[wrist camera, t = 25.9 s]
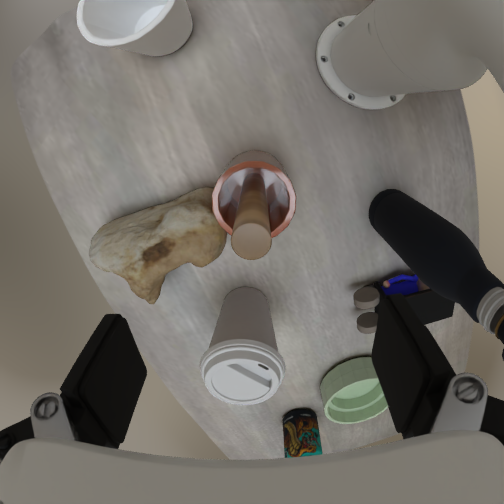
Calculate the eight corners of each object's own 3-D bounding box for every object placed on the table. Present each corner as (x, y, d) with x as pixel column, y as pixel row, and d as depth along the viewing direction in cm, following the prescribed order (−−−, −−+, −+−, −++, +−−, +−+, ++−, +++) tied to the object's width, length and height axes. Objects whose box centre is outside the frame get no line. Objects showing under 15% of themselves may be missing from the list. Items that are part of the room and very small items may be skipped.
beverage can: (300, 403, 54) (306, 454, 43) (323, 414, 56) (331, 462, 45) (275, 418, 56) (277, 467, 45) (298, 428, 58) (302, 474, 47)
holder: (237, 140, 35) (230, 148, 25) (296, 165, 36) (309, 182, 27) (214, 197, 37) (200, 223, 28) (270, 219, 39) (274, 253, 30)
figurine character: (352, 311, 46) (438, 292, 43) (359, 343, 39) (455, 320, 36) (348, 276, 43) (439, 256, 40) (356, 306, 37) (460, 282, 33)
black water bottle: (407, 184, 36) (586, 311, 9) (412, 228, 39) (555, 379, 11) (365, 194, 37) (529, 353, 10) (371, 239, 39) (496, 419, 12)
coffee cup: (289, 316, 45) (300, 394, 31) (234, 339, 47) (227, 416, 33) (259, 266, 41) (260, 339, 28) (200, 294, 43) (179, 369, 30)
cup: (214, 46, 30) (193, 13, 18) (140, 79, 31) (89, 66, 20) (189, -14, 26) (161, -60, 14) (118, 19, 27) (68, -9, 16)
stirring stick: (248, 169, 35) (240, 216, 19) (268, 178, 36) (278, 232, 19) (239, 189, 36) (224, 251, 20) (259, 197, 37) (261, 265, 20)
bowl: (345, 346, 47) (353, 372, 42) (400, 361, 49) (410, 384, 44) (306, 393, 53) (310, 418, 47) (360, 404, 55) (366, 426, 49)
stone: (184, 146, 35) (160, 156, 26) (245, 216, 38) (242, 248, 29) (102, 228, 39) (66, 259, 30) (157, 286, 43) (136, 328, 34)
